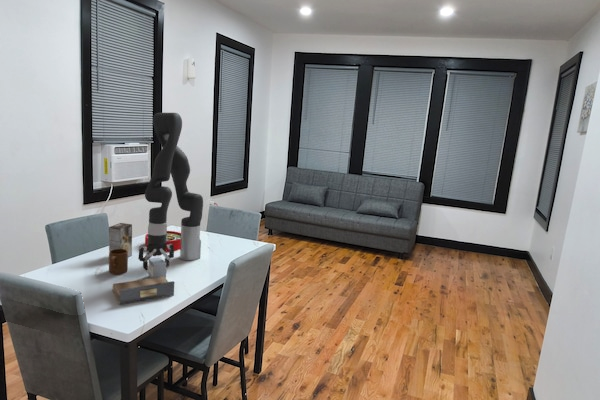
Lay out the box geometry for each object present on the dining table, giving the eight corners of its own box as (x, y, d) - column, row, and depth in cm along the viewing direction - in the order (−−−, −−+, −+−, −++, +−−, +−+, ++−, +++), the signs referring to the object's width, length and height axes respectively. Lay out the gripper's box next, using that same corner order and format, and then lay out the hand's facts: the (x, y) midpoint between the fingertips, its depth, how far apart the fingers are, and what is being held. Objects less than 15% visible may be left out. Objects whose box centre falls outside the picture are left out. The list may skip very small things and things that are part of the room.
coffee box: (120, 253, 200) (121, 222, 197) (132, 255, 199) (132, 224, 196) (108, 259, 191) (108, 226, 188) (120, 261, 190) (120, 228, 187)
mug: (119, 279, 170) (120, 258, 168) (101, 278, 170) (101, 257, 168) (130, 269, 182) (130, 249, 180) (113, 267, 181) (113, 248, 180)
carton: (160, 274, 179) (161, 257, 178) (166, 280, 173) (166, 263, 171) (147, 276, 176) (148, 258, 174) (153, 282, 170) (153, 265, 168)
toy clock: (179, 229, 230) (188, 240, 213) (179, 239, 231) (187, 250, 214) (142, 231, 220) (148, 242, 203) (142, 242, 221) (148, 253, 204)
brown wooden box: (163, 283, 170) (163, 270, 169) (174, 295, 159) (174, 282, 158) (112, 291, 159) (112, 278, 158) (120, 305, 148) (120, 291, 147)
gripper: (171, 229, 178) (169, 263, 180) (137, 231, 169) (136, 267, 172) (176, 233, 172) (175, 269, 174) (142, 236, 163) (141, 273, 166)
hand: (156, 268), depth 173 cm, fingers open, 8 cm apart
